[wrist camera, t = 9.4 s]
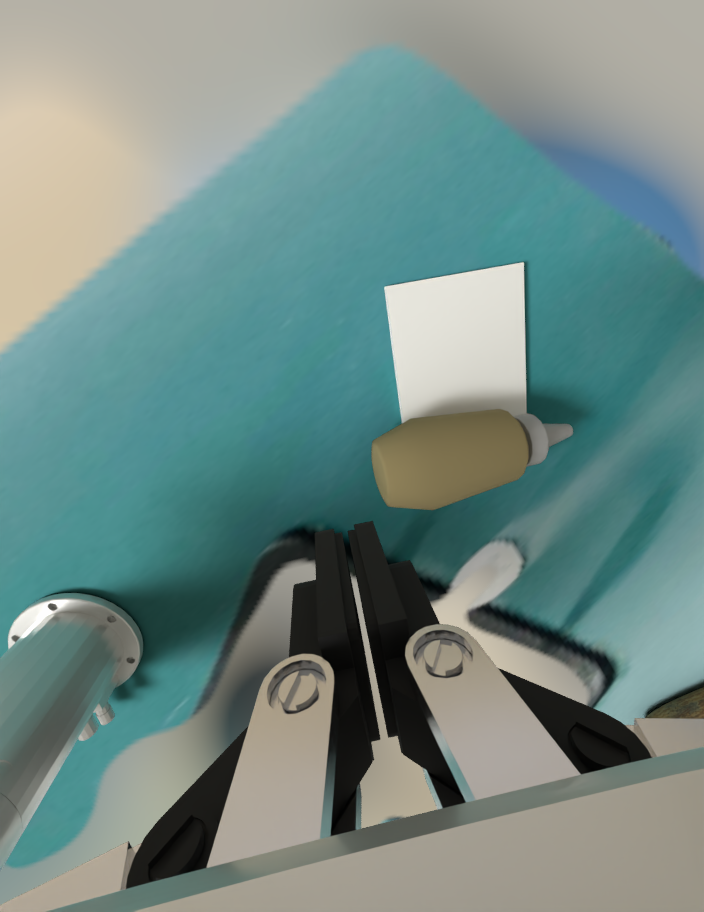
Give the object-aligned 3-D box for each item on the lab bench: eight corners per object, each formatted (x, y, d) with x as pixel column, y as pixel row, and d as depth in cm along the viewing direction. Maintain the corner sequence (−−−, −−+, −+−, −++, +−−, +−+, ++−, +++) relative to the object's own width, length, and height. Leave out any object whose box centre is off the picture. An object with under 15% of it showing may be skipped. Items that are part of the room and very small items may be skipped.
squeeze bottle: (400, 533, 28) (609, 480, 31) (380, 428, 27) (598, 381, 30) (377, 508, 36) (545, 467, 39) (361, 426, 35) (534, 389, 38)
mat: (524, 457, 38) (527, 459, 38) (409, 479, 38) (410, 482, 37) (520, 263, 32) (523, 262, 32) (384, 287, 32) (385, 286, 31)
